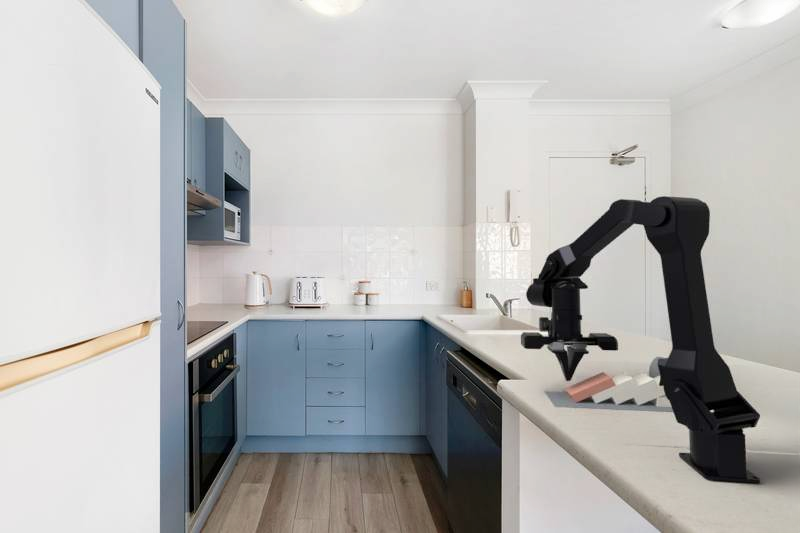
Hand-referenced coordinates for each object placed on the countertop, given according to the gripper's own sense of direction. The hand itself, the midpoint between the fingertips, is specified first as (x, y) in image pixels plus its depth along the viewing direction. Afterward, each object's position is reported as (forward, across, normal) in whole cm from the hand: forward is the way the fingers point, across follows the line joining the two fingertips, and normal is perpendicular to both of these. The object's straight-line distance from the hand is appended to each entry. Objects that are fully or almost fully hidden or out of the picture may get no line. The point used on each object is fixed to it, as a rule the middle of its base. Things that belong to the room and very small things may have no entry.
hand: (567, 380), depth 78 cm
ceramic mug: (+5, -27, -10) cm, 29 cm away
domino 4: (+3, -12, 0) cm, 13 cm away
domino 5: (+3, -17, 0) cm, 17 cm away
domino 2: (+3, -4, 0) cm, 6 cm away
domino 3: (+3, -8, 0) cm, 9 cm away
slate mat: (+4, -8, 0) cm, 9 cm away
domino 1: (+3, 0, 0) cm, 3 cm away
